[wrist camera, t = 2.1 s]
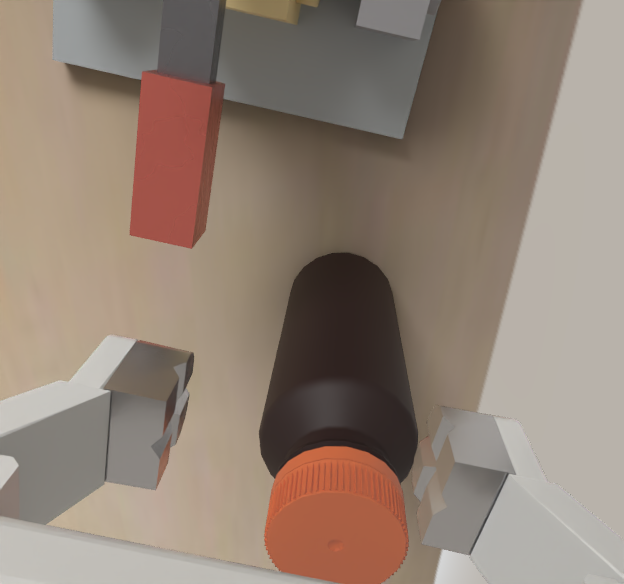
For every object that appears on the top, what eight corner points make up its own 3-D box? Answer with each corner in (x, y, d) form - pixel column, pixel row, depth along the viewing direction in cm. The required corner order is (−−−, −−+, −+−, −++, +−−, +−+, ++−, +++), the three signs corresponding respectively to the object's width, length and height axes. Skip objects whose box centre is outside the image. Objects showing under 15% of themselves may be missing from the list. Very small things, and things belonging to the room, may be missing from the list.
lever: (137, 216, 25) (117, 232, 23) (169, -184, 19) (146, -215, 17) (216, 233, 25) (203, 251, 23) (272, -159, 19) (263, -186, 17)
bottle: (301, 348, 39) (260, 619, 20) (281, 258, 36) (214, 478, 18) (397, 335, 38) (446, 606, 19) (384, 242, 35) (426, 455, 17)
